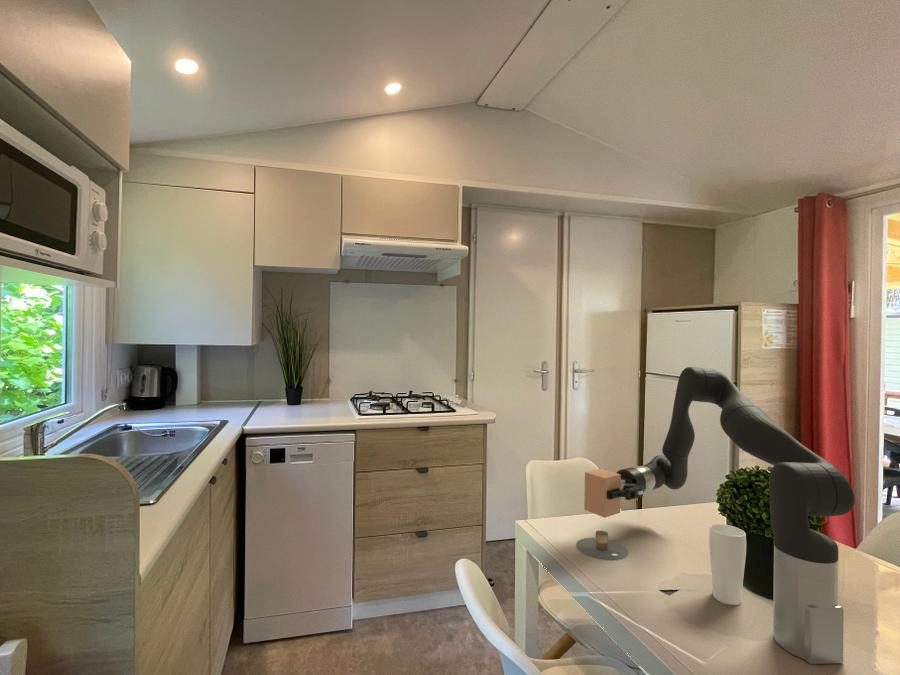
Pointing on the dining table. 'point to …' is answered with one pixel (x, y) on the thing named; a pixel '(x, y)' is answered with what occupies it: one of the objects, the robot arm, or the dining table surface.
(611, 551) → the plate
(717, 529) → the drinking glass
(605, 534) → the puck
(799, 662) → the dining table surface
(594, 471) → the orange brown block
